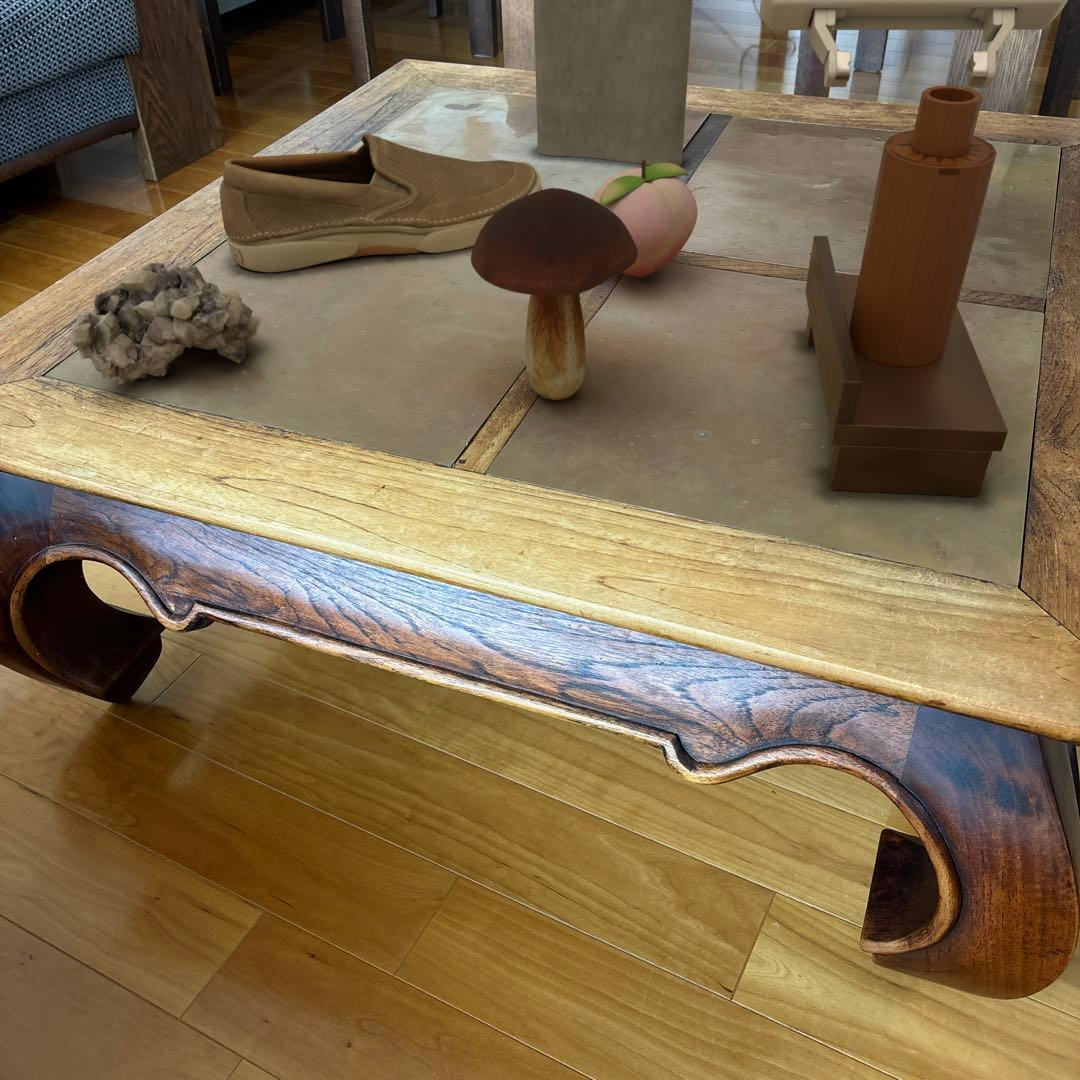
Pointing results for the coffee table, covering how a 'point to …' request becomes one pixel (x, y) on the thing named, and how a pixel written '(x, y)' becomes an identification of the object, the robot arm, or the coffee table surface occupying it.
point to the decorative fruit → (651, 212)
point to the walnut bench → (898, 402)
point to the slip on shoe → (361, 203)
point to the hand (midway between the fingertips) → (907, 83)
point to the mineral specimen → (161, 322)
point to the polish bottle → (922, 231)
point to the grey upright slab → (612, 78)
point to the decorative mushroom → (553, 275)
